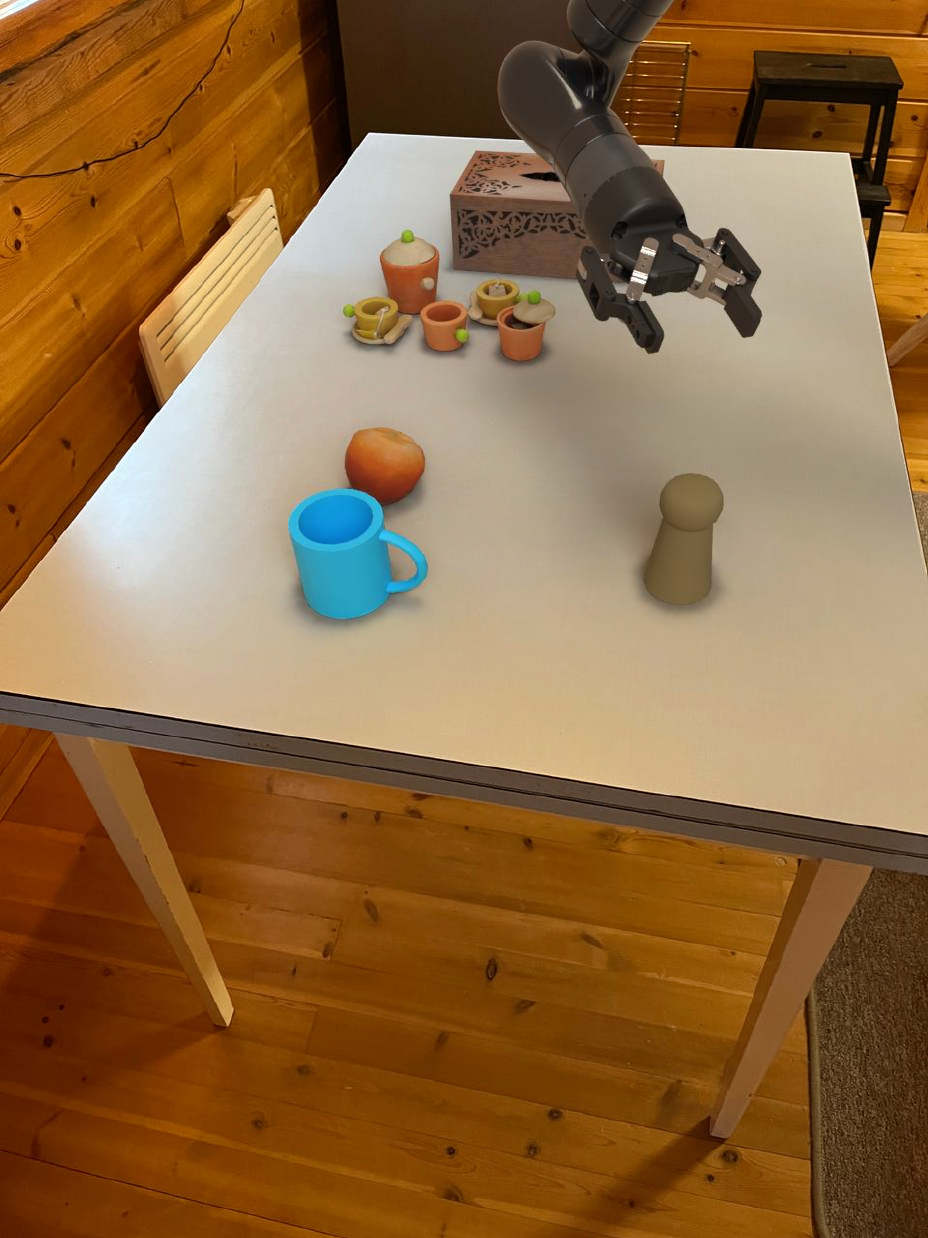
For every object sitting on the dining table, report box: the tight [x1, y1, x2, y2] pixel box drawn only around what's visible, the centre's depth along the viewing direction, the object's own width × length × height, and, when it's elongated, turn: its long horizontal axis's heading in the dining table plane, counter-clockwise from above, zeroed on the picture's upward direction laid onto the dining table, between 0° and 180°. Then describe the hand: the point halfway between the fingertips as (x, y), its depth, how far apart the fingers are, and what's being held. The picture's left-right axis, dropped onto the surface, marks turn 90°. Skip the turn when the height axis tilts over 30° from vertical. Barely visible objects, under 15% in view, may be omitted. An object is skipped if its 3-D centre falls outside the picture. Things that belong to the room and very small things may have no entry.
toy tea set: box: [342, 229, 557, 362], centre depth 112 cm, size 26×16×10 cm, turn 72°
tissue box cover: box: [449, 150, 666, 283], centre depth 124 cm, size 26×14×10 cm, turn 76°
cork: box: [643, 472, 725, 606], centre depth 80 cm, size 6×6×11 cm
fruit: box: [344, 426, 426, 506], centre depth 92 cm, size 8×8×8 cm
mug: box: [287, 488, 429, 620], centre depth 82 cm, size 12×8×8 cm
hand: (706, 337), depth 72 cm, fingers open, 8 cm apart
